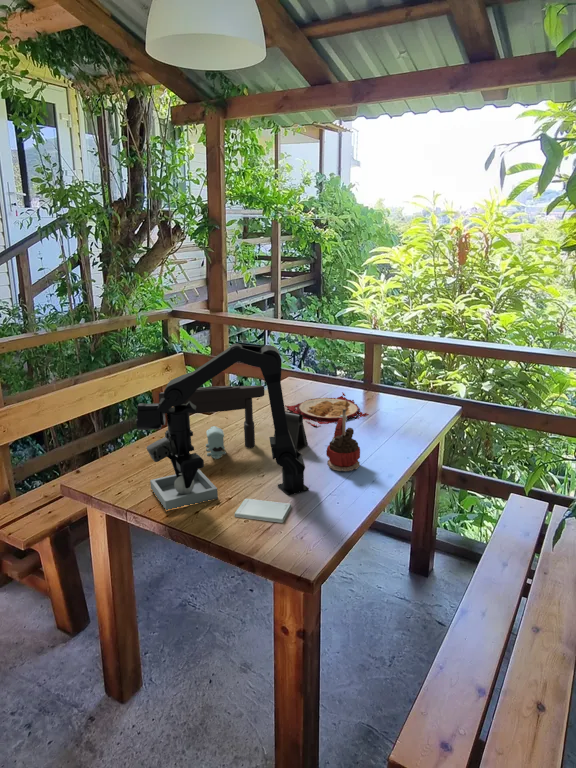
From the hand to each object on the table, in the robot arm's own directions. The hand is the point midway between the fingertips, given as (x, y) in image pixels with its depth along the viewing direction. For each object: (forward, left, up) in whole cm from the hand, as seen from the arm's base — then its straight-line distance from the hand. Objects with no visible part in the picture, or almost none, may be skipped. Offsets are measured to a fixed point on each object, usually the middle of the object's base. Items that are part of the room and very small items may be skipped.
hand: (183, 482), depth 147 cm
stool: (+25, -19, -4) cm, 32 cm away
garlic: (0, 0, -3) cm, 3 cm away
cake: (-7, -47, -4) cm, 48 cm away
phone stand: (+13, -41, -4) cm, 43 cm away
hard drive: (-19, -14, -4) cm, 24 cm away
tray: (0, 0, -3) cm, 3 cm away
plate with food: (+37, -71, -4) cm, 80 cm away
